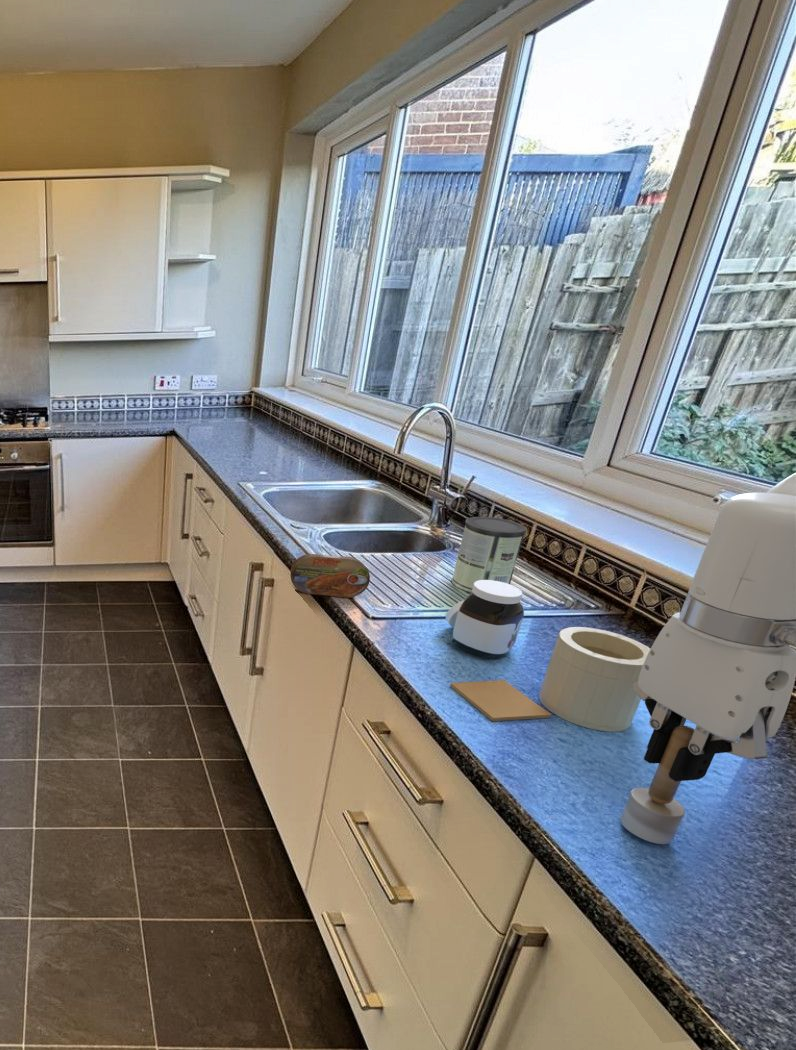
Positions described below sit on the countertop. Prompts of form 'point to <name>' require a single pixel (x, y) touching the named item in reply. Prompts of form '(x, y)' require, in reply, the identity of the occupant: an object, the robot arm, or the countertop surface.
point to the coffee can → (487, 551)
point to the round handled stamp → (658, 797)
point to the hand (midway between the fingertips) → (671, 768)
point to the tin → (330, 575)
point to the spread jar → (487, 619)
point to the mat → (499, 700)
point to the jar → (593, 678)
